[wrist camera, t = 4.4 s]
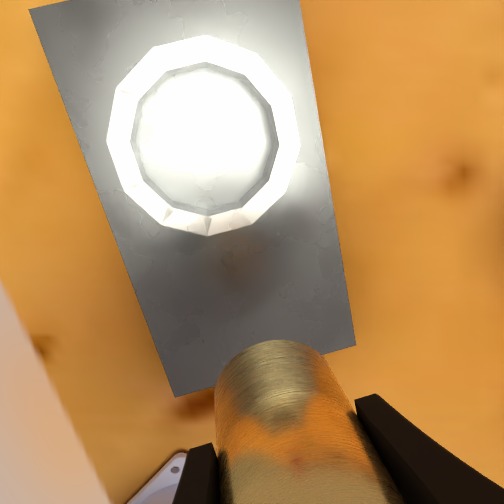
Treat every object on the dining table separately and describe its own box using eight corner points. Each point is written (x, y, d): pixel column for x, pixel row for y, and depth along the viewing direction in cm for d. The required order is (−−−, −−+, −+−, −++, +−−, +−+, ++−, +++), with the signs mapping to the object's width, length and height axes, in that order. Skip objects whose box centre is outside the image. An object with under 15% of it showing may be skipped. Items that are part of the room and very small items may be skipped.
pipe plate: (349, 335, 21) (368, 361, 19) (175, 385, 21) (173, 418, 18) (285, -39, 15) (301, -70, 13) (39, 17, 15) (8, -5, 12)
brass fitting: (276, 460, 13) (354, 785, 7) (188, 404, 12) (176, 733, 5) (356, 383, 13) (528, 652, 6) (273, 316, 12) (373, 562, 5)
